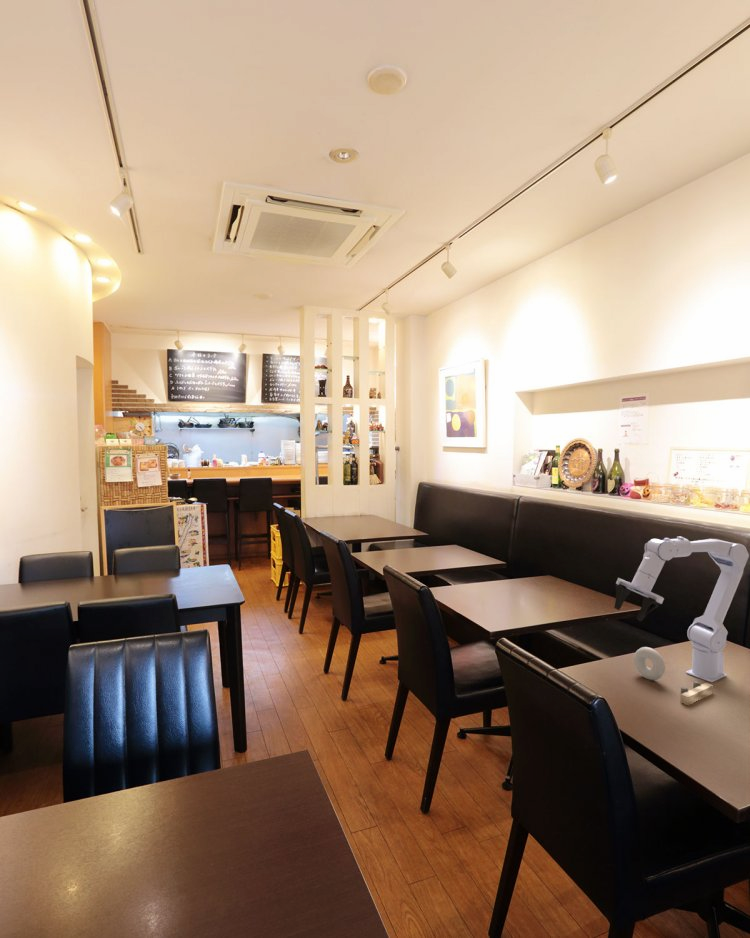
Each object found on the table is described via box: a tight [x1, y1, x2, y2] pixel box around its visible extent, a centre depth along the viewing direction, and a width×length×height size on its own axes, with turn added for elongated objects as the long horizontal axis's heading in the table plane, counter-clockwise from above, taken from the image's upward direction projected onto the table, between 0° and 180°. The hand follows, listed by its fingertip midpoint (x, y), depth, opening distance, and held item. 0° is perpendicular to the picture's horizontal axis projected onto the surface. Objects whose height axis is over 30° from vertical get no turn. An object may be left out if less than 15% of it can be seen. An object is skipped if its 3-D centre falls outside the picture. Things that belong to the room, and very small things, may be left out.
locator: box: [680, 680, 714, 706], centre depth 154 cm, size 14×4×3 cm, turn 122°
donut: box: [633, 646, 666, 681], centre depth 165 cm, size 10×3×10 cm, turn 28°
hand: (627, 614), depth 161 cm, fingers open, 7 cm apart
